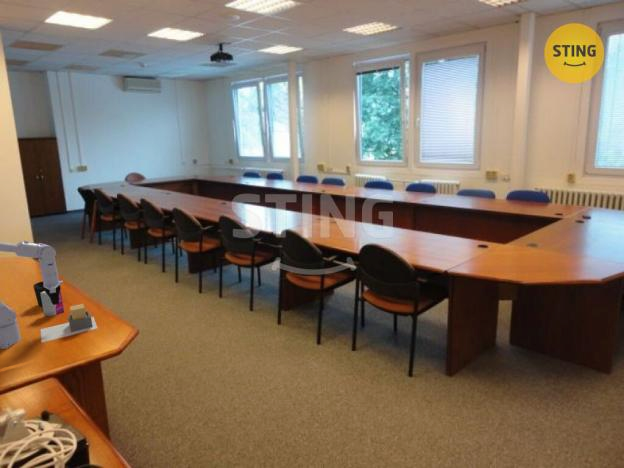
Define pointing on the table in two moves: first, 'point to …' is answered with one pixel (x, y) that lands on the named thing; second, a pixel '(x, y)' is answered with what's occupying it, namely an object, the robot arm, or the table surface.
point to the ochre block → (78, 312)
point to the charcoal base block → (80, 322)
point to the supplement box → (51, 305)
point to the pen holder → (39, 291)
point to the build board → (62, 331)
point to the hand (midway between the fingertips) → (55, 303)
